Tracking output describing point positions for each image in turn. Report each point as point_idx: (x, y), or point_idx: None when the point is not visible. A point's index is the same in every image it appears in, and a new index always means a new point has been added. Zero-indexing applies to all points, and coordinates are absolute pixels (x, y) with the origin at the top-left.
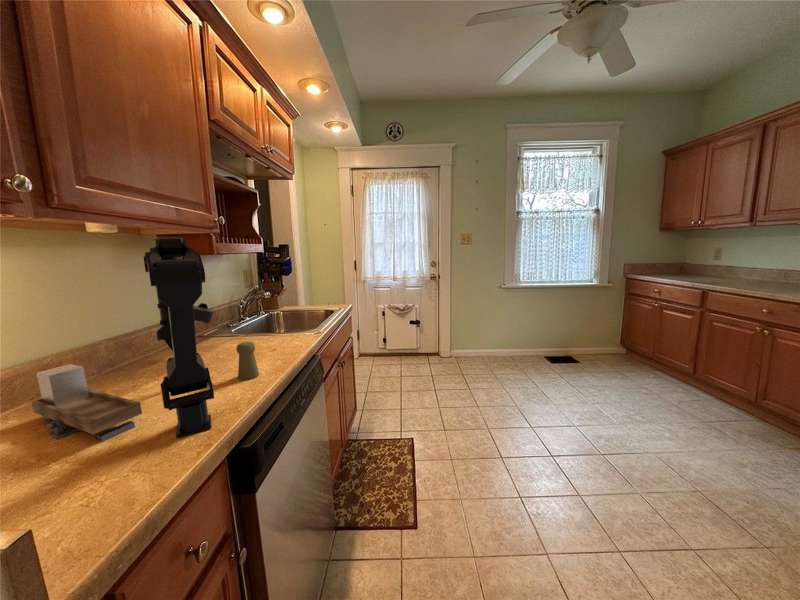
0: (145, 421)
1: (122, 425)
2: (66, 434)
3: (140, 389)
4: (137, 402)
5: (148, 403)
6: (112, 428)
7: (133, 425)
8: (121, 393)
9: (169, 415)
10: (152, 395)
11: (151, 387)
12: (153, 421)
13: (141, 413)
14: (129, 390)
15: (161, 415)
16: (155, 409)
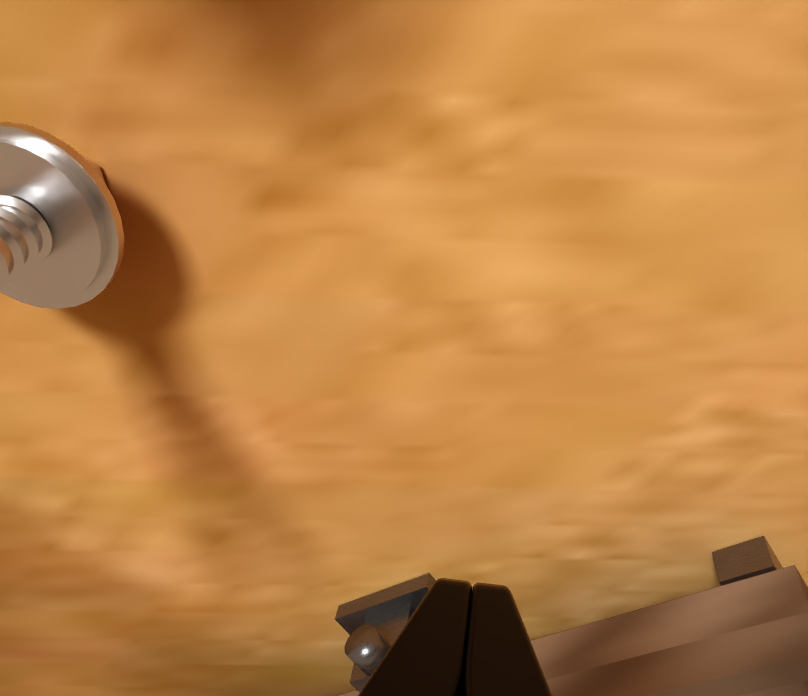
0: (714, 486)
1: None
2: None
3: (20, 495)
4: (798, 664)
5: (350, 463)
6: None
7: (768, 552)
8: (54, 577)
9: (745, 354)
10: (189, 439)
11: (4, 440)
12: (766, 447)
13: (797, 570)
14: (14, 544)
15: (688, 401)
16: (516, 431)
